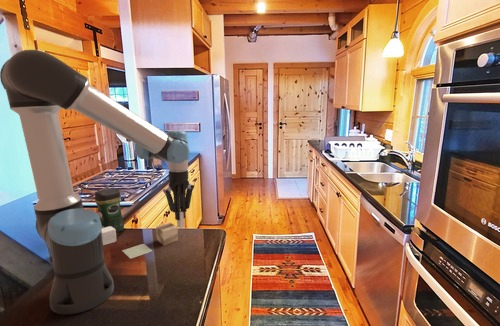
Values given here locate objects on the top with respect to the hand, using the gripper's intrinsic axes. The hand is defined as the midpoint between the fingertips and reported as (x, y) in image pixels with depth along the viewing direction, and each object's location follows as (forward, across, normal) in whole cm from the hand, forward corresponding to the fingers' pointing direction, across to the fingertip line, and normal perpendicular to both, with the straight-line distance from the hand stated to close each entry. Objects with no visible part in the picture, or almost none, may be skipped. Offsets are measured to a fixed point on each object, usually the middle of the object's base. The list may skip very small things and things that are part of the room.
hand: (180, 226), depth 113 cm
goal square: (+4, +18, 0) cm, 19 cm away
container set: (+5, +31, -15) cm, 35 cm away
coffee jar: (+5, +19, -25) cm, 32 cm away
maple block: (+4, +6, 0) cm, 7 cm away
